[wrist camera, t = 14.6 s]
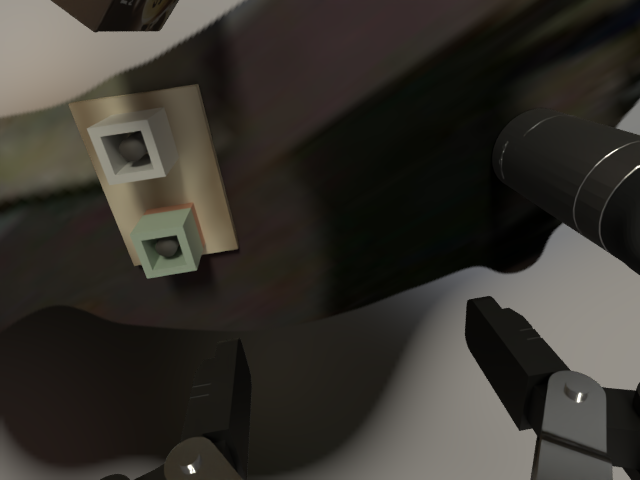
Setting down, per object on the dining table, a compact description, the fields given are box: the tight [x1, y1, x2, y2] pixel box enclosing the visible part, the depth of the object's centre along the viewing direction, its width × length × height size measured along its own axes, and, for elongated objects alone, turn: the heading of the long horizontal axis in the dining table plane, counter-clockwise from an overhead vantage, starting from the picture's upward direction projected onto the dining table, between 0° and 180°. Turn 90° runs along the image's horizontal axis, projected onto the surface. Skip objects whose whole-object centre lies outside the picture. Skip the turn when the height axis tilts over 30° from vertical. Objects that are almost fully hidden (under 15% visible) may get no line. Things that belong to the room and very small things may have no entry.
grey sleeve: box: [87, 107, 179, 185], centre depth 37 cm, size 5×5×6 cm
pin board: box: [68, 84, 239, 266], centre depth 40 cm, size 12×18×6 cm, turn 7°
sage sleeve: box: [130, 202, 205, 278], centre depth 42 cm, size 5×5×6 cm
